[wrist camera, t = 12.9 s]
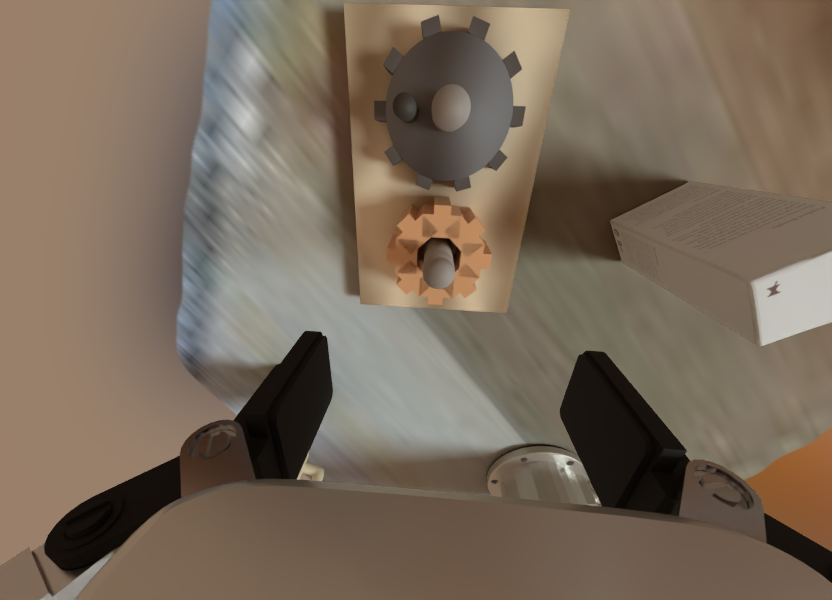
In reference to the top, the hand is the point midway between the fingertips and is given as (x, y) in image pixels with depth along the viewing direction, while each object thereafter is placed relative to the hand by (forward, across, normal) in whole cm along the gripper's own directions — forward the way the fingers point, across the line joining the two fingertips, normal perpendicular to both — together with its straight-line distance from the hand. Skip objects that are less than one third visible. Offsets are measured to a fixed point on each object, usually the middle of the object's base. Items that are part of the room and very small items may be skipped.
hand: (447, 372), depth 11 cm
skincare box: (+16, -16, -3) cm, 23 cm away
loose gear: (+14, 0, -1) cm, 14 cm away
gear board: (+16, 0, -5) cm, 17 cm away
